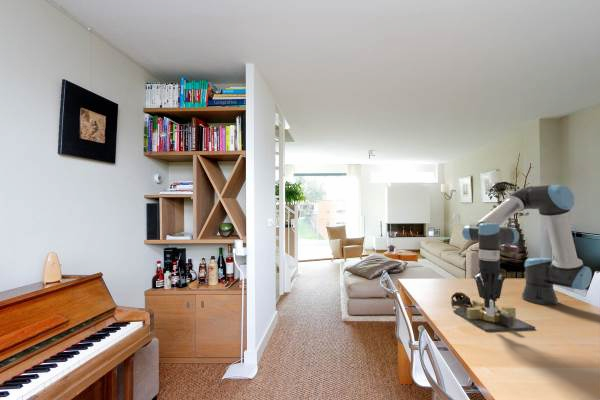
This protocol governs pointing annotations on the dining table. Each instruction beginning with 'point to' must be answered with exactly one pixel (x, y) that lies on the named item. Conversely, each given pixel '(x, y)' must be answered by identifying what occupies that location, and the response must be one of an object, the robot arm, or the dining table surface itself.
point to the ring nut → (502, 316)
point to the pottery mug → (460, 300)
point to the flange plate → (495, 323)
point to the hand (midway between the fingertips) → (489, 315)
